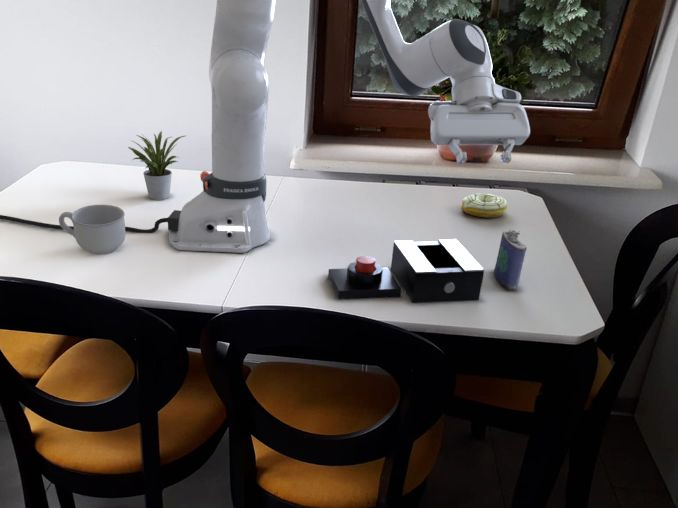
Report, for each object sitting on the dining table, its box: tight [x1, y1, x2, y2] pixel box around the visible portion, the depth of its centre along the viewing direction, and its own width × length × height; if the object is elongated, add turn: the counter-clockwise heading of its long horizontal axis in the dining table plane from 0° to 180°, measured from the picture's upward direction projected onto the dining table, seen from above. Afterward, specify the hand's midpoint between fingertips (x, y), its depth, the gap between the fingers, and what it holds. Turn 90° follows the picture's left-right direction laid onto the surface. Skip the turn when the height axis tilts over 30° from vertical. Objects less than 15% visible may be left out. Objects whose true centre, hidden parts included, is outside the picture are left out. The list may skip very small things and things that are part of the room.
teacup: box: [58, 204, 126, 255], centre depth 148 cm, size 14×11×8 cm
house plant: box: [127, 130, 186, 201], centre depth 176 cm, size 14×14×16 cm
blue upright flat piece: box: [493, 229, 527, 292], centre depth 137 cm, size 9×3×11 cm, turn 3°
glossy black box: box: [390, 238, 485, 304], centre depth 136 cm, size 14×16×6 cm
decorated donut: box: [461, 193, 508, 219], centre depth 174 cm, size 10×11×4 cm
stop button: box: [355, 255, 376, 273], centre depth 134 cm, size 4×4×2 cm
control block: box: [327, 261, 402, 300], centre depth 135 cm, size 12×10×4 cm
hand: (484, 161), depth 142 cm, fingers open, 8 cm apart
